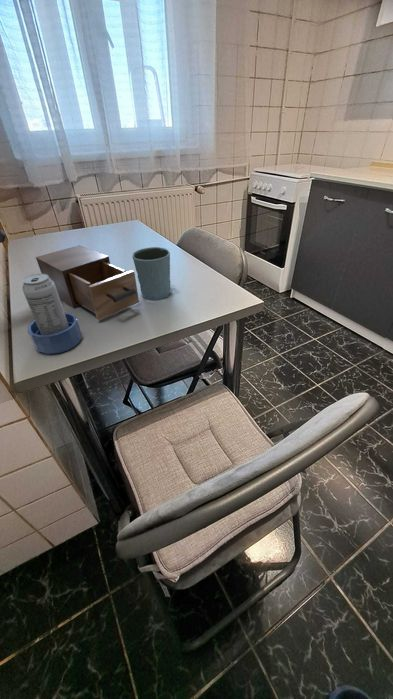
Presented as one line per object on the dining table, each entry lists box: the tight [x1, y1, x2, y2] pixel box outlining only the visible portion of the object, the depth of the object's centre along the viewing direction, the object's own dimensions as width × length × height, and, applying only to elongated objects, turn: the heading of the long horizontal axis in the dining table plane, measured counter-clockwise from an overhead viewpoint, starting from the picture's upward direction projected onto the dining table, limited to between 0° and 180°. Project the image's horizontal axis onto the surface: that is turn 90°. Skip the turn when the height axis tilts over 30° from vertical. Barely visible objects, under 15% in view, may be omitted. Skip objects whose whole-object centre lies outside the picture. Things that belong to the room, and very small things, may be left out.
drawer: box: [66, 261, 140, 321], centre depth 77 cm, size 19×13×9 cm
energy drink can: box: [22, 273, 69, 335], centre depth 63 cm, size 6×6×15 cm
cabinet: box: [35, 244, 111, 309], centre depth 86 cm, size 16×14×11 cm
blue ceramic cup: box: [131, 246, 172, 301], centre depth 83 cm, size 10×10×12 cm
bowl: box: [27, 311, 83, 355], centre depth 66 cm, size 10×10×5 cm
